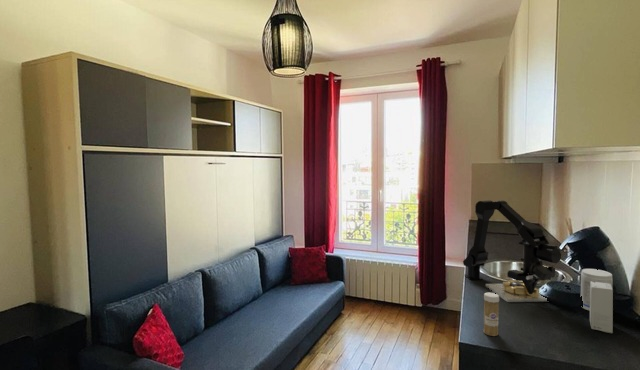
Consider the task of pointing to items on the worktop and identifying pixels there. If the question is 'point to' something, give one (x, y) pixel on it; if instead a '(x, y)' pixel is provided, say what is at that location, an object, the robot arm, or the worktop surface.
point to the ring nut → (518, 288)
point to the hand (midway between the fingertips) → (530, 294)
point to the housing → (513, 297)
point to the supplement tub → (592, 276)
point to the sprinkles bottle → (491, 313)
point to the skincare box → (601, 306)
